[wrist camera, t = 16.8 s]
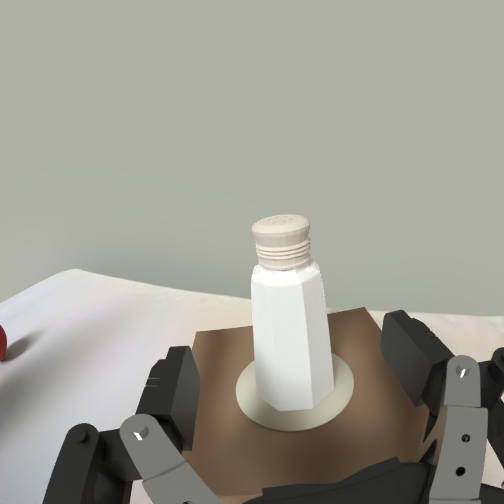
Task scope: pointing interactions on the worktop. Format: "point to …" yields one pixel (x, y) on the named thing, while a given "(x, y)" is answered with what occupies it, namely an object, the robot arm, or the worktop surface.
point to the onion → (2, 343)
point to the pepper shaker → (289, 317)
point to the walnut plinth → (298, 415)
